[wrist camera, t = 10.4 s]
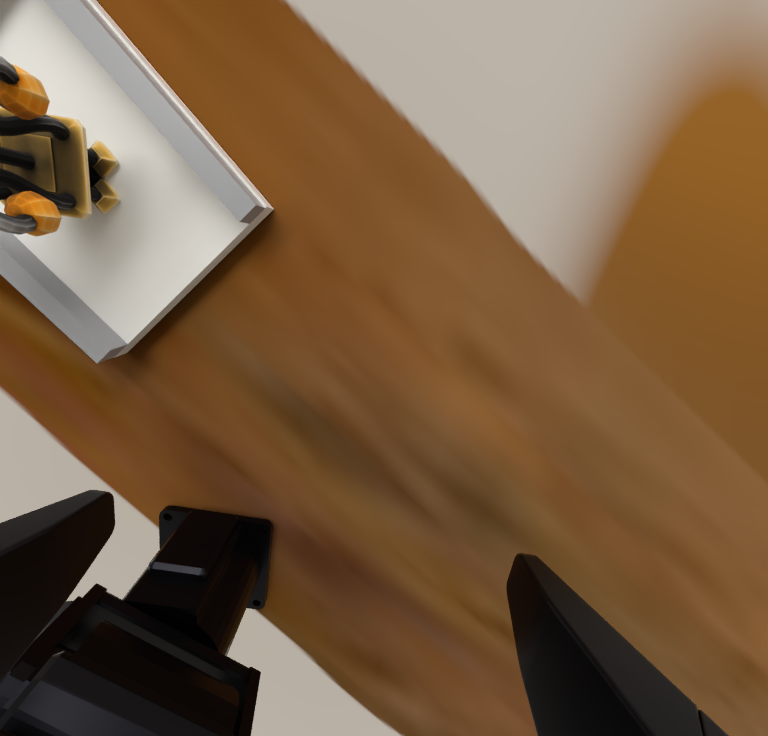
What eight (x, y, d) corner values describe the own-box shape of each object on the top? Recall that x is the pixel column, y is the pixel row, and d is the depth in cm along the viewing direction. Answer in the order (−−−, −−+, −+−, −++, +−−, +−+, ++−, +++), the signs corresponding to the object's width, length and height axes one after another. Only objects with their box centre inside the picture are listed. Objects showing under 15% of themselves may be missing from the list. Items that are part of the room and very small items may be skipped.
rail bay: (273, 209, 18) (257, 203, 16) (127, 352, 20) (95, 364, 18) (41, -65, 15) (-17, -116, 13) (-100, 137, 17) (-169, 121, 15)
